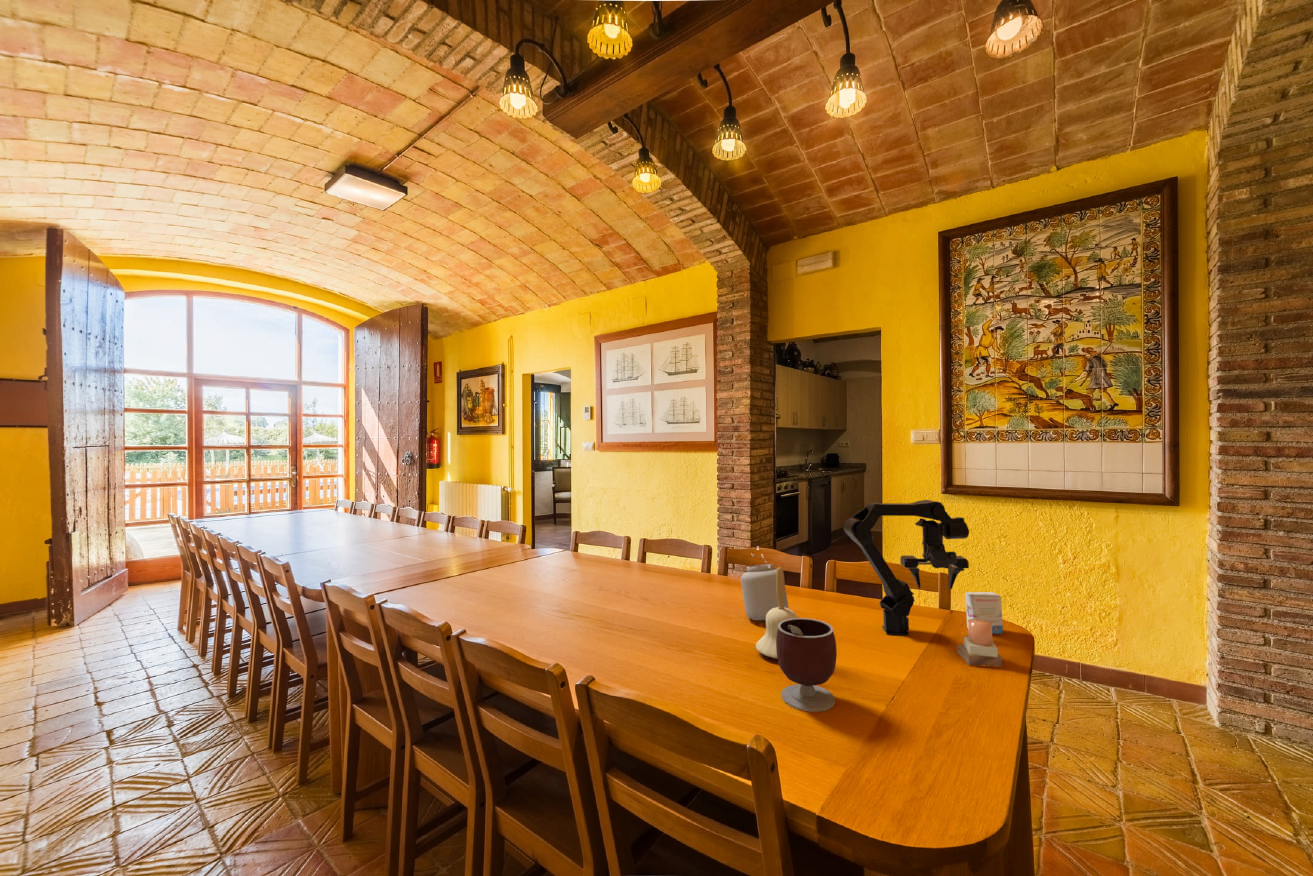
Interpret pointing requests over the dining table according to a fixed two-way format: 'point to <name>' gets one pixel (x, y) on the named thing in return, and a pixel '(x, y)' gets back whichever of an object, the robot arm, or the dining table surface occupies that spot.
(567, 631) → the dining table surface
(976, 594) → the ink box
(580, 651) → the dining table surface
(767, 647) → the handbell
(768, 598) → the jar
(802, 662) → the mate gourd
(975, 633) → the terracotta cylinder
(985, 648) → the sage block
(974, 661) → the walnut slab
